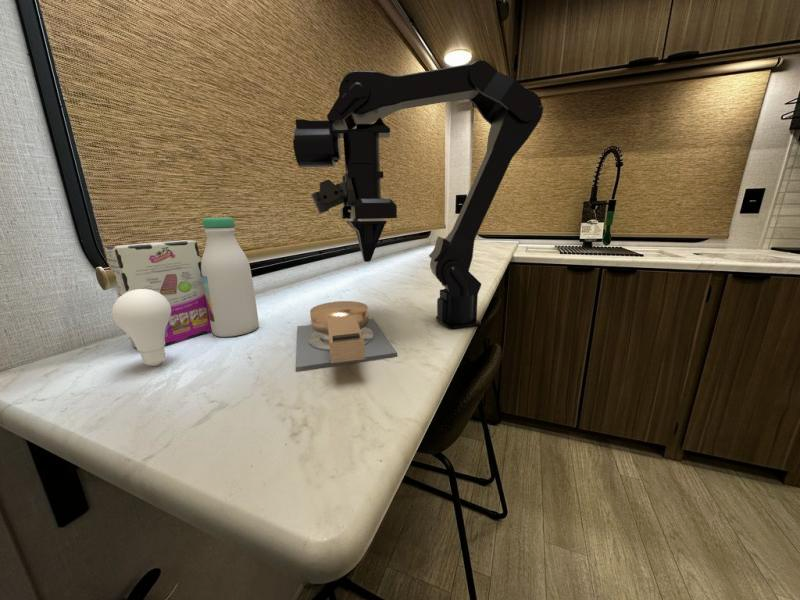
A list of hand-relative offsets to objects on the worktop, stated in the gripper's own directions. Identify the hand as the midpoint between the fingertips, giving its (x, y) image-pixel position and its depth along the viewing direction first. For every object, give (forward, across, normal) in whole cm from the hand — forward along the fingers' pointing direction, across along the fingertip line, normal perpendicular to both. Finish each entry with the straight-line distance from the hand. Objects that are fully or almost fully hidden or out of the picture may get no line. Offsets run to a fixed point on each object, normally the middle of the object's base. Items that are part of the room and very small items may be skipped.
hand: (367, 261), depth 55 cm
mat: (+12, +6, -6) cm, 15 cm away
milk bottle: (+12, -6, -24) cm, 27 cm away
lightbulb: (+12, +6, -32) cm, 35 cm away
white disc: (+12, +6, -6) cm, 15 cm away
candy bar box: (+12, -5, -33) cm, 36 cm away
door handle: (+9, +11, -6) cm, 15 cm away
